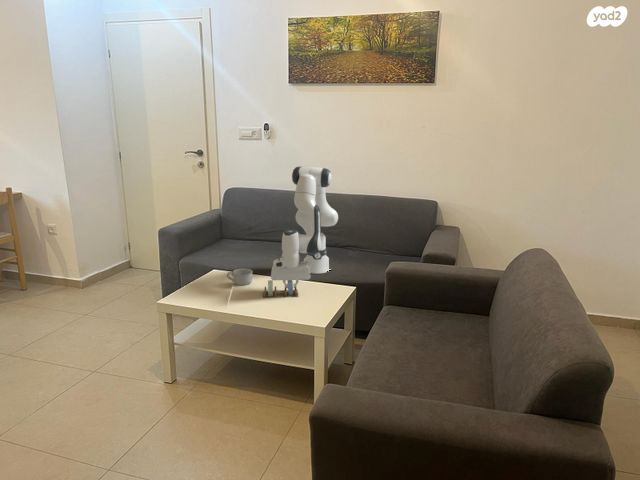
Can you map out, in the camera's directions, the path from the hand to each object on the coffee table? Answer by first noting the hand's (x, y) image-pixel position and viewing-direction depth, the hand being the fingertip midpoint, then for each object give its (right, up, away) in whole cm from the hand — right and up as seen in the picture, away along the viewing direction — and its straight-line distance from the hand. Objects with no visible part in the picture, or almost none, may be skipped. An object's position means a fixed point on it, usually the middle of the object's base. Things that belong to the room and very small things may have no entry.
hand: (290, 287), depth 241 cm
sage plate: (-10, -3, 0) cm, 11 cm away
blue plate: (0, -3, +1) cm, 3 cm away
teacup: (-29, 0, +19) cm, 35 cm away
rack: (-5, -4, 0) cm, 7 cm away
